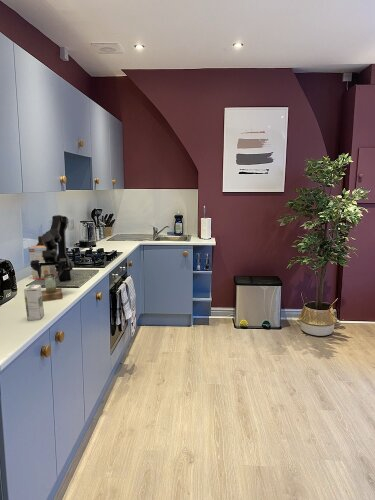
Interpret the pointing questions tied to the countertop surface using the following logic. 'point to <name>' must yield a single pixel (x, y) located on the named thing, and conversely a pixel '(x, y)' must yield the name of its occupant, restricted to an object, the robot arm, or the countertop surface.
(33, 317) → the syrup box
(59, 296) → the walnut block
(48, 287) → the spice tin
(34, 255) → the cracker box
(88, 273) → the countertop surface
